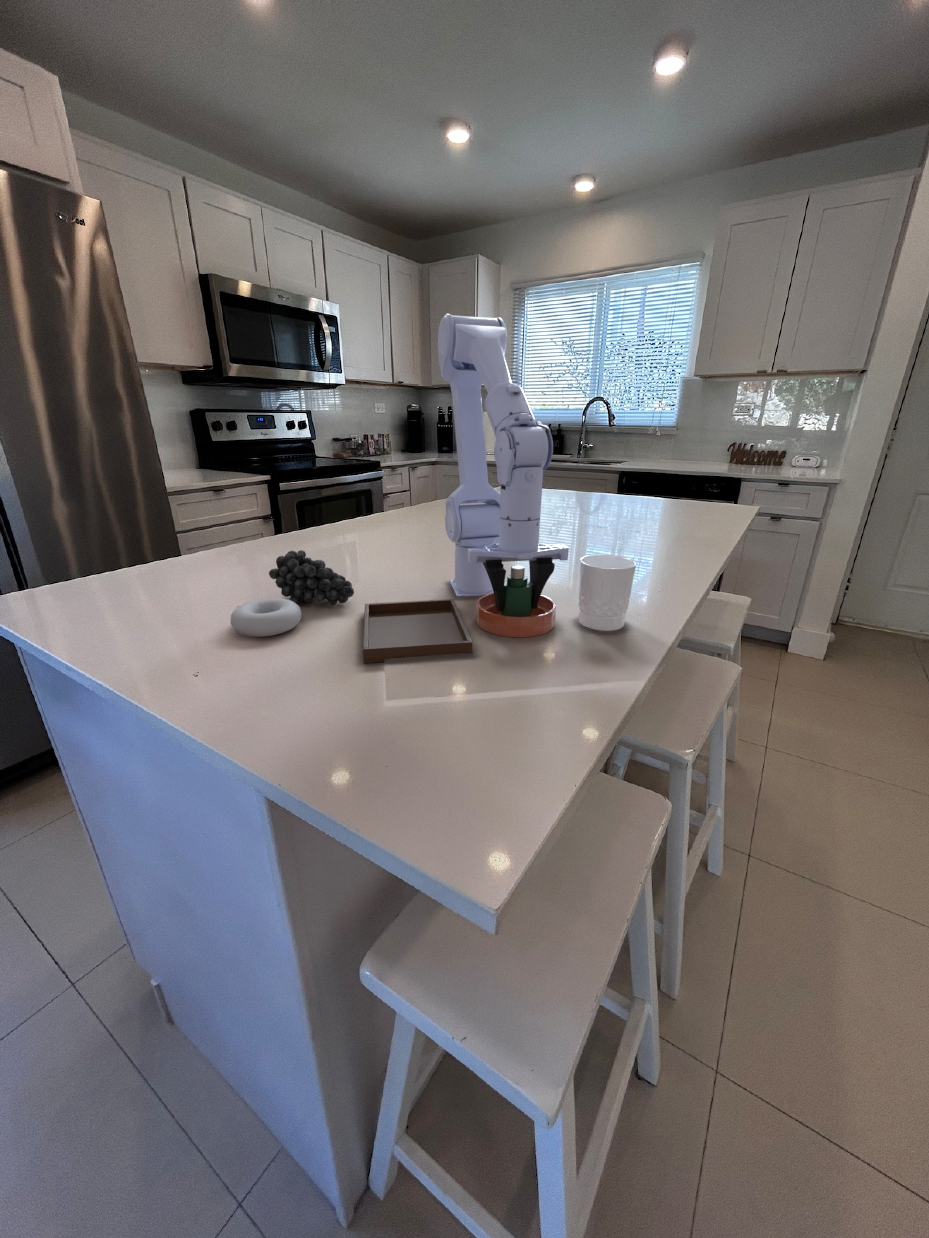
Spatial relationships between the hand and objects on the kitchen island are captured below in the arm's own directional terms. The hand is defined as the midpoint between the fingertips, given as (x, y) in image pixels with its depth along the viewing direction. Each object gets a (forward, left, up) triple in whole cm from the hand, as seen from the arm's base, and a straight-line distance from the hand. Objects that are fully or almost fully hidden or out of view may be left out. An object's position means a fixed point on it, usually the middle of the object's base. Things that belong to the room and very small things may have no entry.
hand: (515, 607), depth 77 cm
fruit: (-15, -31, -3) cm, 35 cm away
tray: (+1, -15, -3) cm, 16 cm away
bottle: (0, 0, -2) cm, 2 cm away
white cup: (+2, +13, -3) cm, 13 cm away
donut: (-5, -37, -3) cm, 37 cm away
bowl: (0, 0, -3) cm, 3 cm away
